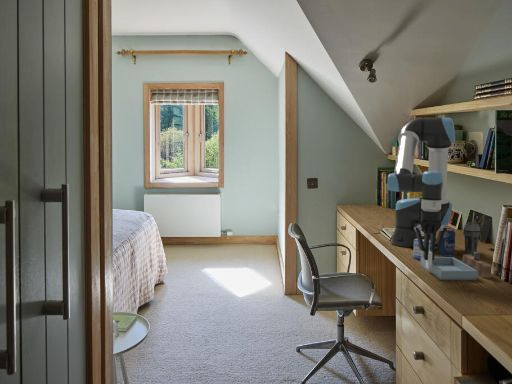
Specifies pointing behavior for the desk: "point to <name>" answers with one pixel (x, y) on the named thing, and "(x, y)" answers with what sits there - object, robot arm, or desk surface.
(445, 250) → the soda can
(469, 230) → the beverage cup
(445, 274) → the tray
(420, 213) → the robot arm
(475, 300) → the desk surface
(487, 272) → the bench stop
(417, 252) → the medicine box
